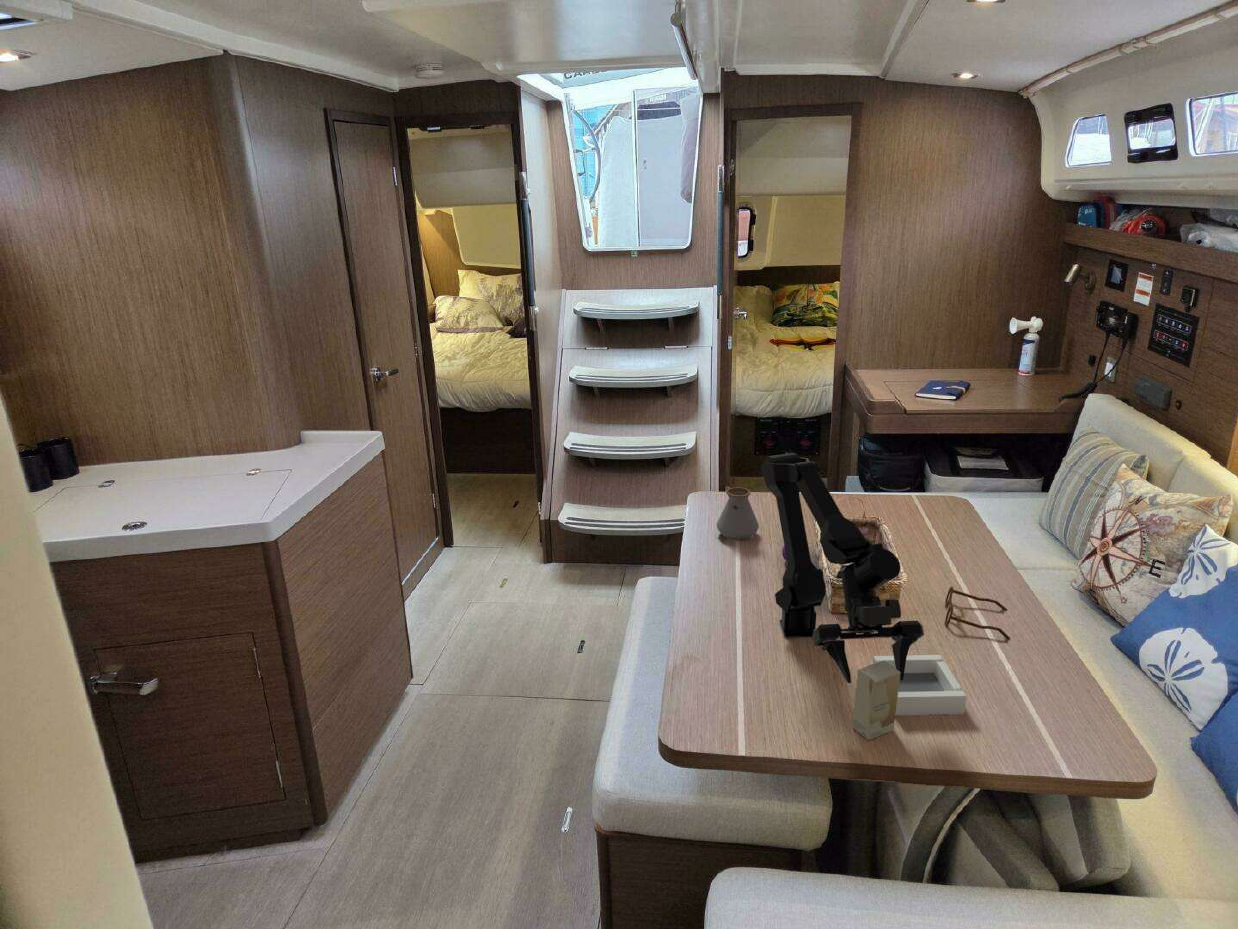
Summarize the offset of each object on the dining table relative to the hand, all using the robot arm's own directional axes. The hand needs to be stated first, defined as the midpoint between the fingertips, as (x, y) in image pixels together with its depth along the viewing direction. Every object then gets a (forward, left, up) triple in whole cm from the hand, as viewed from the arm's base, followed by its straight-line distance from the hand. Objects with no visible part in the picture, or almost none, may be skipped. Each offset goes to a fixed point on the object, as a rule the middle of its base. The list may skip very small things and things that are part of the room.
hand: (875, 681), depth 142 cm
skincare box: (0, -1, -9) cm, 9 cm away
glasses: (+33, +35, -10) cm, 49 cm away
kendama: (-2, +56, -9) cm, 57 cm away
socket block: (+11, +9, -9) cm, 16 cm away
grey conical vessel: (-15, +75, -9) cm, 77 cm away
